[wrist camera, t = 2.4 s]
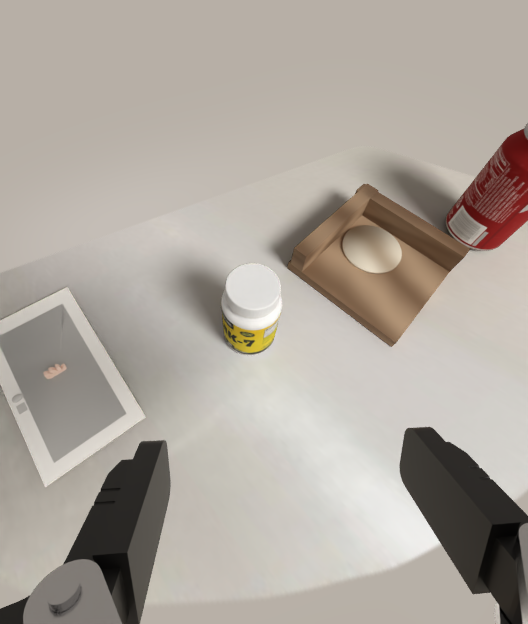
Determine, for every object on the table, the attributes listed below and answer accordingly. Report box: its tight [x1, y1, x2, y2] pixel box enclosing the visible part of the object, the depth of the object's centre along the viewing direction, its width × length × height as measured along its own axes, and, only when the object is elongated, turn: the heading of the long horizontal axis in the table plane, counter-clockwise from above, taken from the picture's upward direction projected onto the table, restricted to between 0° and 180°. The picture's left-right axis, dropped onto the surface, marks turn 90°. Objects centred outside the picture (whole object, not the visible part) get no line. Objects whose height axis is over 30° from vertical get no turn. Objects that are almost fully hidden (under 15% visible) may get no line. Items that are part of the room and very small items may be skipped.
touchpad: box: [0, 287, 146, 487], centre depth 26 cm, size 8×15×2 cm, turn 38°
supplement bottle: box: [221, 263, 282, 356], centre depth 26 cm, size 5×5×8 cm
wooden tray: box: [287, 184, 470, 347], centre depth 33 cm, size 13×13×4 cm
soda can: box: [446, 124, 528, 251], centre depth 33 cm, size 7×7×12 cm
